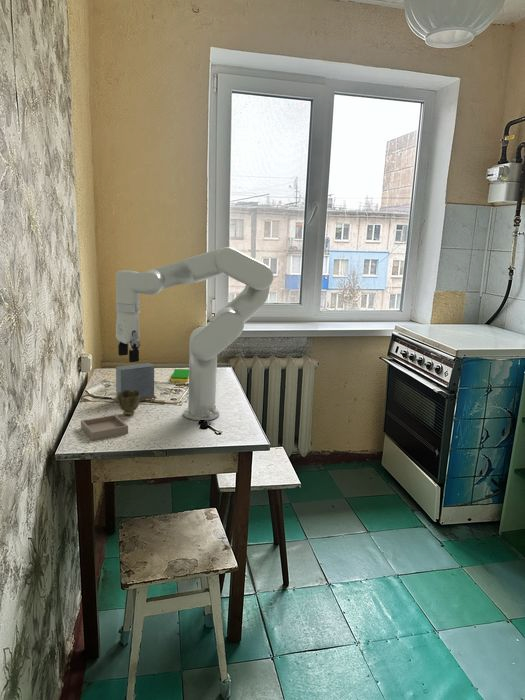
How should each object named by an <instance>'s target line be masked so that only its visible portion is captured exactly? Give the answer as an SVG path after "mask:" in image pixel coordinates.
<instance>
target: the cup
mask: <svg viewBox="0 0 525 700" xmlns="http://www.w3.org/2000/svg"><path fill="white" fill-rule="evenodd" d="M139 397H140V392H138V390H137V391H135V390H134V391H133V392H130V390H125V391H124V392H123V391H121V393H120V391H119V393H118V400H119V403H118V405H119V409H120V410H122V411H123V415H124V416H127V417H130V416H133V415H134V414H135V410H137V409H138V407H139V404H140V403H139Z"/></svg>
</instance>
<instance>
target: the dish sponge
mask: <svg viewBox="0 0 525 700" xmlns="http://www.w3.org/2000/svg"><path fill="white" fill-rule="evenodd" d="M170 379H171V380H170V381H171V382H174V383H189V368H188V369H185V368H183V369H182V368H181V369H180V368H174V371H173V373H172V375H171V377H170Z"/></svg>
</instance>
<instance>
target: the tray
mask: <svg viewBox="0 0 525 700" xmlns="http://www.w3.org/2000/svg"><path fill="white" fill-rule="evenodd" d="M80 428H81V430H82V431H83V432H84V433H85V434H86V435H87V436H88V437H89V440H91V441H95V440H96V441H97V440H102V439H105V438H112V437H116V436H121V435H126V434H128V435H129V425H128V424H127V423H126V422H124V421H123V420H122V419H121V418H120V417H118V416H117V414H112V415H107V416H106V415H105V416H100V417H94V418H88V419H82V420H80Z"/></svg>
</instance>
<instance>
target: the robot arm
mask: <svg viewBox="0 0 525 700" xmlns="http://www.w3.org/2000/svg"><path fill="white" fill-rule="evenodd" d="M223 275H226V276H227V277H229V278H232V279H234V280H235V281H236V282H237V281H238V282H240V283H241V284H244V285H245V287H244V289H242V291H241V292H240V293H239V294H238V295H237V296H235V298H234V299H232V300H231V301H229V303H227V304H226V305H225V306H223V307H222V308H221V309H219V310H218V311H217V312H216V314H215V315H214V319H213V320H212V321H211V322H209V323H208V324H207V325H205V326H198V327H196V328H195V329H194V330H193V331H192V332H191V334H190V335H189V345H188V346H189V361H188V362H189V365H188V369H189V380H188V395H187V397H188V398H187V399H188V401H187V402H188V405H187V408H185V409H184V410H183V416H184V417H185V418H186V419H189V420H193V421H200V420H205V421H212V420H215V419H217V418H218V417H220V410H219V409H218V408H217V406H216V397H217V396H216V395H217V394H216V393H217V372H218V371H217V370H218V369H217V368H218V367H217V366H218V354H220V353H221V352H222V351H224V350H225V349H226V348H228V346H230V345H231V344H232V343H233V342H235V341H236V339H238V338H239V337H240V336H241V334H242V333H243V331H244V327H245V323H246V322H247V321H248V320H249V319H251V318H252V317H253V316H254V315H255V314H257V312H258V311H259V310H260V309H261V308H262V307H263V306H264V305H265V303H266V301H267V299H268V297H269V294H270V286H271V285H272V284H273V282H274V273H273V271H272V268H270V267H269V265H267V264H265V263H263V262H260V261H258V260H256V259H255V258H252V257H250V256H248V255H246V254H245V253H243V252H241V251H239V250H237V249H236V248H234V247H231V246H225V247H221V248H220V247H219V248H217V249H216V248H215V249H213V250H210V251H206V252H204V253H200V254H197V255H194V256H190V257H187V258H185V259H182V260H179V261H176V262H174V263H170V264H167V265H163V266H160V267H155V268H152V269H149V270H147V271H146V272H138V271H136V270H131V269H130V270H129V269H128V270H127V269H126V270H125V269H122V270H118V271H117V272H116V273H115V279H116V280H115V281H116V282H115V284H116V285H115V286H116V287H115V288H116V289H115V291H116V294H115V296H116V297H115V298H116V299H115V301H116V303H115V304H116V306H115V307H116V318H115V319H116V321H115V322H116V323H115V338H116V340H117V343H118V344H117V345H118V356H121V357H122V356H128V361H129V363H136V362H139V360H140V346H141V344H140V342H141V338H140V337H141V336H140V334H141V333H140V318H139V314H140V313H141V294H142V295H143V294H144V295H149V296H154V295H157V294H159V293H160V292H161V291H162V290H165V289H169V288H173V287H175V286H179V285H184V284H196V283H199V282H203V281H206V280H209V279H212V278H213V279H214V278H216V277H220V276H223Z"/></svg>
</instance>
